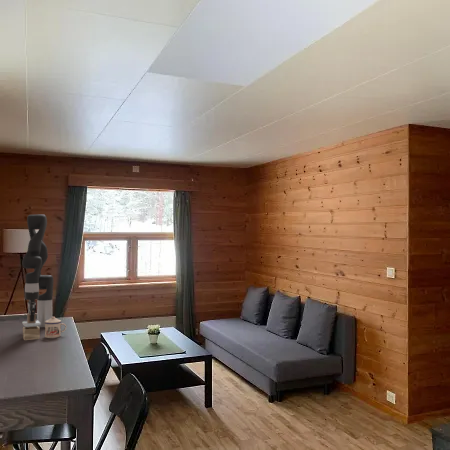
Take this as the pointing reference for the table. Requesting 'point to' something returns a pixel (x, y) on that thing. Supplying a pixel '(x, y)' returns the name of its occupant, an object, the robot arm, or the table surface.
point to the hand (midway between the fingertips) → (31, 320)
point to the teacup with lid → (53, 328)
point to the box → (31, 333)
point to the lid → (31, 323)
